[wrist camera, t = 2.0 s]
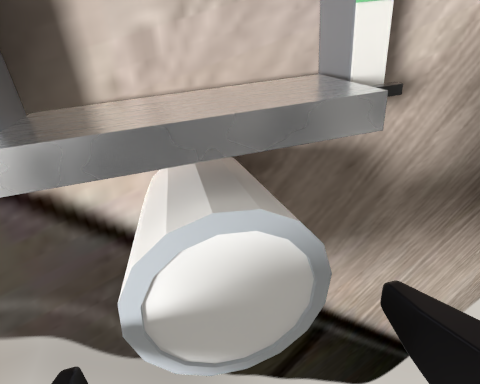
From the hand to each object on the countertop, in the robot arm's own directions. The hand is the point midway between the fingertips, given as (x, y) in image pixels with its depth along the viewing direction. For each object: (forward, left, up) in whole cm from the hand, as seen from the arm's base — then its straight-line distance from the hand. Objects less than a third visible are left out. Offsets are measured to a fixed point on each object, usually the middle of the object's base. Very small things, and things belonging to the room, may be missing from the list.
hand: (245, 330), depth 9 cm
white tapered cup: (0, 0, -8) cm, 8 cm away
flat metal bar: (-1, -5, -7) cm, 8 cm away
